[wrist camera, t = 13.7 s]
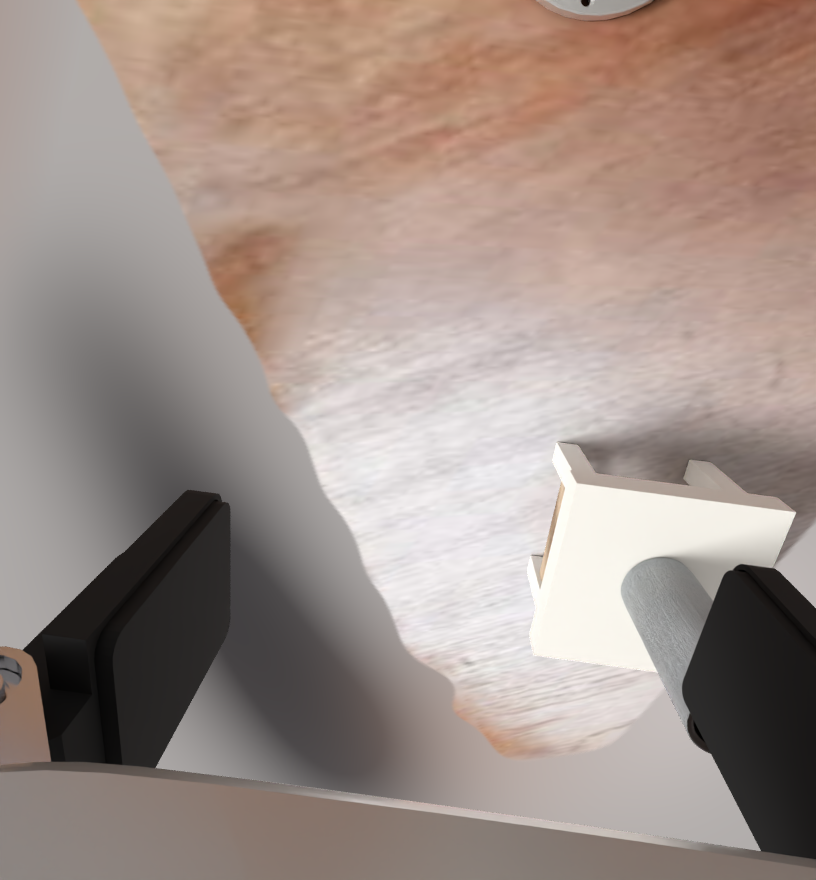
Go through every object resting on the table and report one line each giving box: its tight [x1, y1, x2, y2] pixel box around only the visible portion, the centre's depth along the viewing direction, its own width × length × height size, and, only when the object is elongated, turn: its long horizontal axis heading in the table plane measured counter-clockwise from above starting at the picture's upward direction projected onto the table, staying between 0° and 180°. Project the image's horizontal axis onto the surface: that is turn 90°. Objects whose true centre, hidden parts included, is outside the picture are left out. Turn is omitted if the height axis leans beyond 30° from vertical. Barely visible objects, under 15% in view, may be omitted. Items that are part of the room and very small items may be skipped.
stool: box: [527, 442, 796, 672], centre depth 39 cm, size 13×13×9 cm
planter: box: [621, 558, 713, 754], centre depth 30 cm, size 4×4×10 cm
